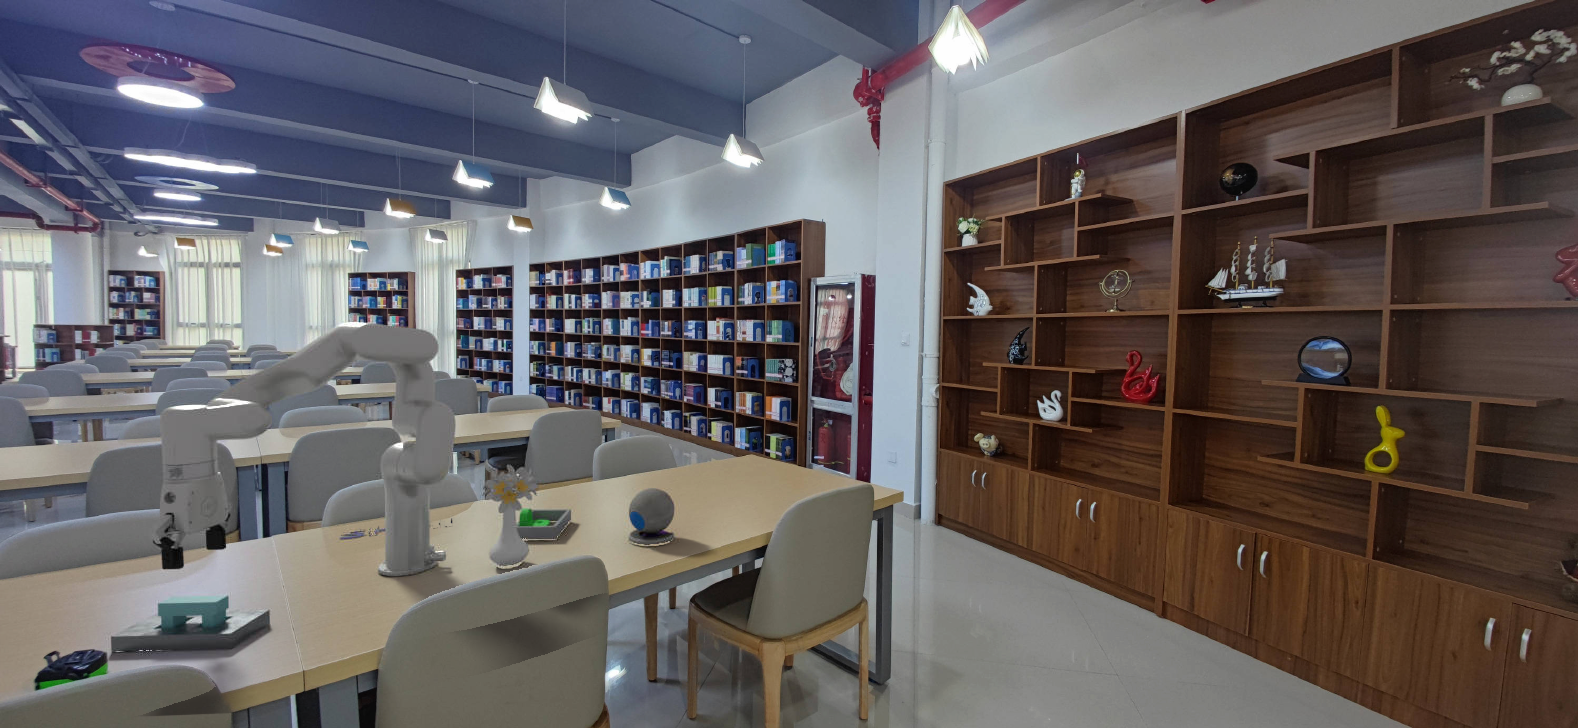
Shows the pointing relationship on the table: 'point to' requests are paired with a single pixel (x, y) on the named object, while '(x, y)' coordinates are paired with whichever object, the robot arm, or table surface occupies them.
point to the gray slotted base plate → (191, 633)
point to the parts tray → (545, 531)
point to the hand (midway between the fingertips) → (195, 558)
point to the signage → (359, 534)
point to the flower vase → (509, 513)
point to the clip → (193, 610)
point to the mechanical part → (527, 519)
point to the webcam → (651, 517)
